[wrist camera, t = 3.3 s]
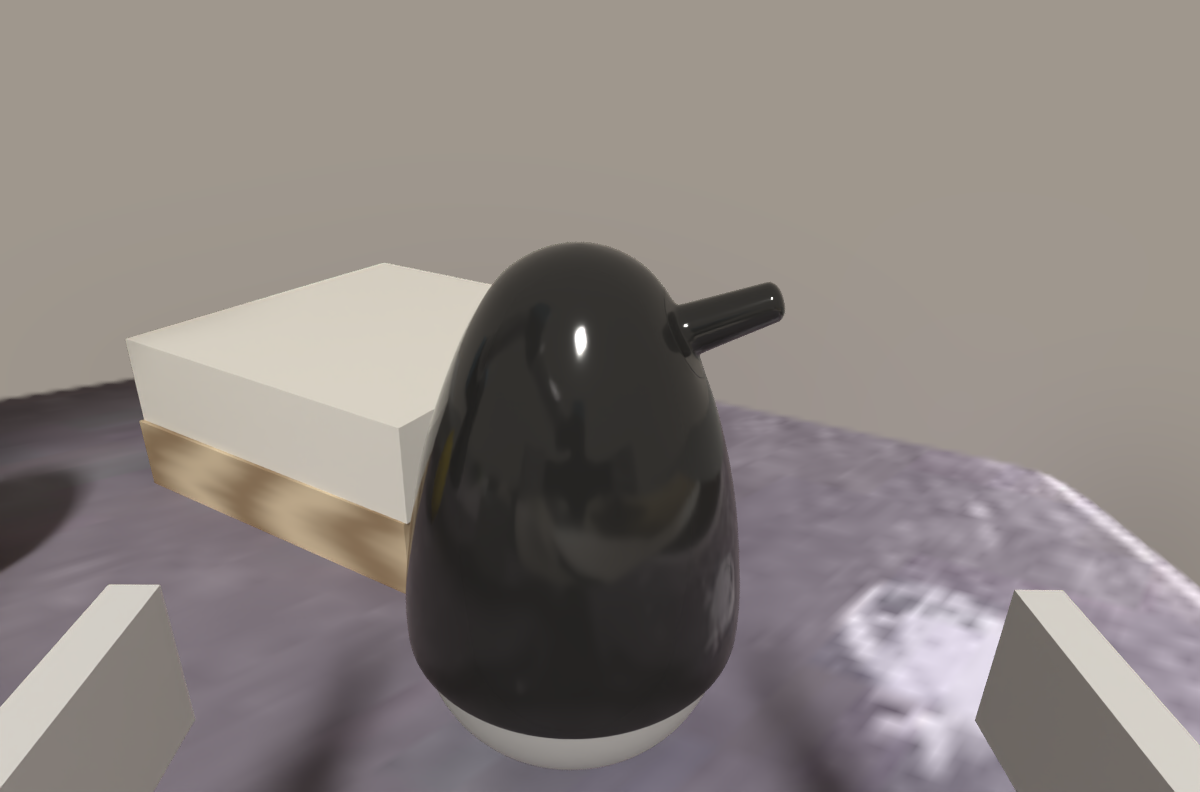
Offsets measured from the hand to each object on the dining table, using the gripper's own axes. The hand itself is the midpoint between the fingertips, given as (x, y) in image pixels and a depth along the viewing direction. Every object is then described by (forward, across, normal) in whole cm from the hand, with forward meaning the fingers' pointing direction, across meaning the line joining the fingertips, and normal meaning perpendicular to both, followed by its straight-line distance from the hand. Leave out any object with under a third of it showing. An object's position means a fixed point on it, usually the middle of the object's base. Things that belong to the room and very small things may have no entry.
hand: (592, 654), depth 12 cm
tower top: (+26, -9, -8) cm, 29 cm away
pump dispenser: (+10, 0, -11) cm, 15 cm away
